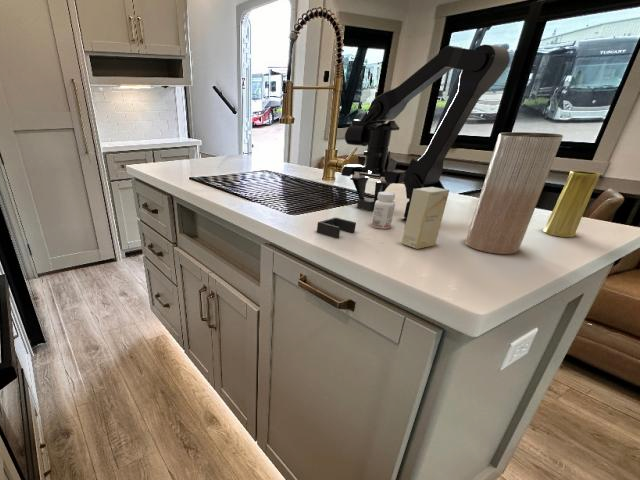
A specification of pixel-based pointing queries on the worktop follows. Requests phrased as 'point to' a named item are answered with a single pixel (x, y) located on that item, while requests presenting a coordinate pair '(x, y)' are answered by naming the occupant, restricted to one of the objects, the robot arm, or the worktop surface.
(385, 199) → the pill bottle
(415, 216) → the cosmetic box
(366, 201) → the loose pad
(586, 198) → the vase
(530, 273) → the worktop surface
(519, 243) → the planter
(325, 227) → the dark grey u-shaped bracket
